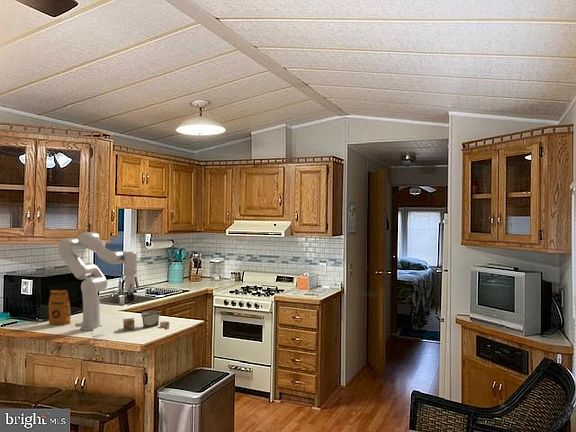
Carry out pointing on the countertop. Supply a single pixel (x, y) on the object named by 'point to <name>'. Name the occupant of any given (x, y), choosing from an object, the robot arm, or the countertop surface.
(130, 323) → the walnut block
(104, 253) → the robot arm
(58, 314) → the coffee package
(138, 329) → the parts board
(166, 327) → the oak block
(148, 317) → the food container
